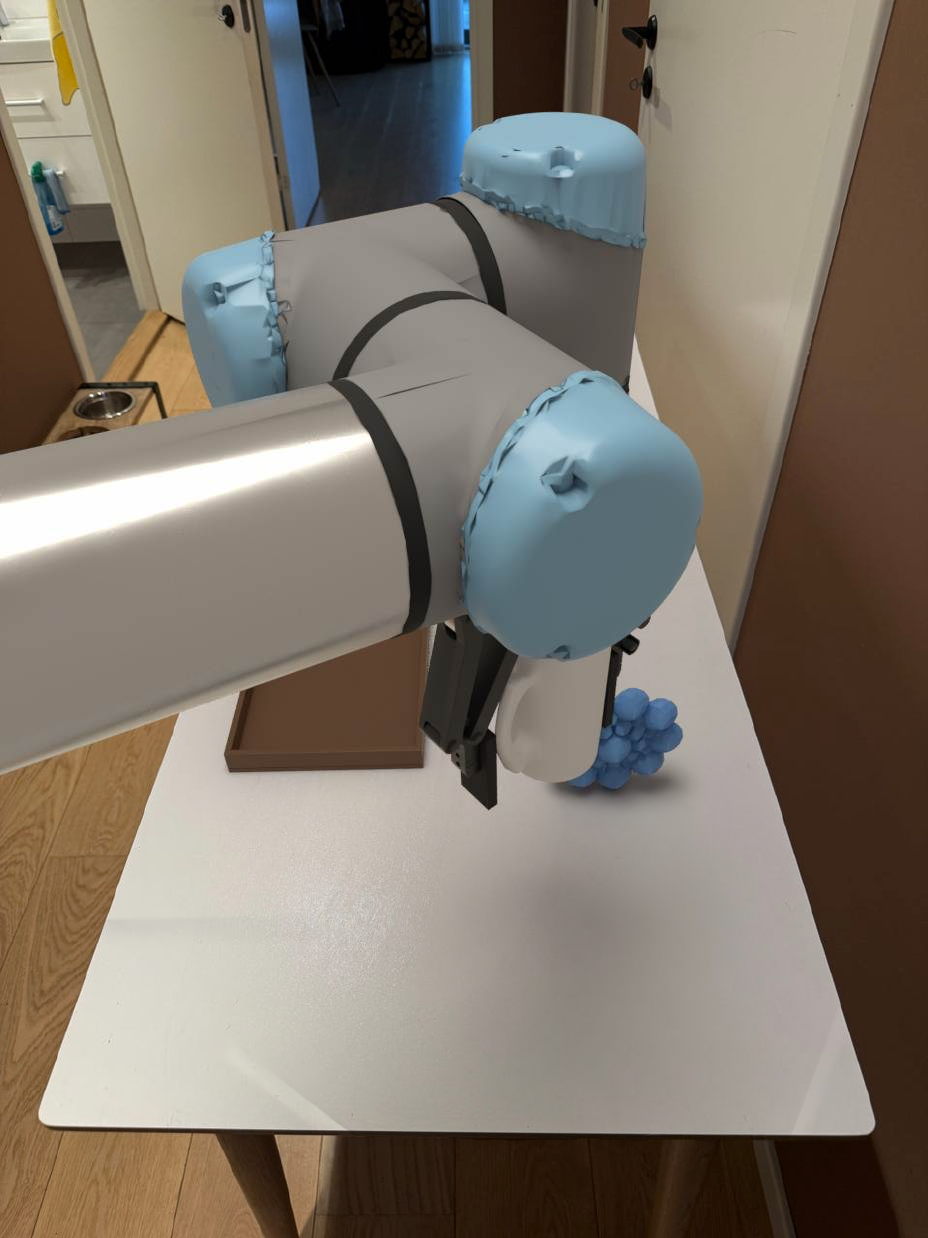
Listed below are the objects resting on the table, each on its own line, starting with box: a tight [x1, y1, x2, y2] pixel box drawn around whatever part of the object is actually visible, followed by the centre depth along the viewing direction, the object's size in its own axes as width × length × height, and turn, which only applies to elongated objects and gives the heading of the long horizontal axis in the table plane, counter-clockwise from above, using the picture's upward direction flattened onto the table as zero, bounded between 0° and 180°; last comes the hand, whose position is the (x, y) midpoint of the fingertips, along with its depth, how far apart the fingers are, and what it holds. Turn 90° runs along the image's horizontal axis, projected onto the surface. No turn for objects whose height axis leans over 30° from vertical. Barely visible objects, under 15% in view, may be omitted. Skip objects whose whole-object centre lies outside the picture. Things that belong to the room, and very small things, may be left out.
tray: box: [223, 626, 431, 773], centre depth 96 cm, size 29×18×2 cm, turn 0°
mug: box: [494, 646, 611, 783], centre depth 58 cm, size 10×7×12 cm, turn 145°
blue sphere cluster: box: [567, 687, 684, 790], centre depth 80 cm, size 12×7×12 cm, turn 90°
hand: (538, 753), depth 61 cm, fingers closed on mug, 10 cm apart
